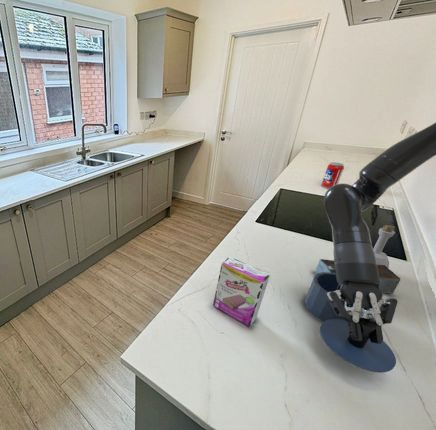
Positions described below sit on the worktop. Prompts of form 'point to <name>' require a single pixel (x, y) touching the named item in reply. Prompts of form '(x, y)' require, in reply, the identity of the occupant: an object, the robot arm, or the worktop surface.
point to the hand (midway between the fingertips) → (366, 341)
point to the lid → (357, 345)
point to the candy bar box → (240, 290)
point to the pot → (323, 296)
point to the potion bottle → (384, 235)
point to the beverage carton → (385, 275)
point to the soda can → (332, 174)
